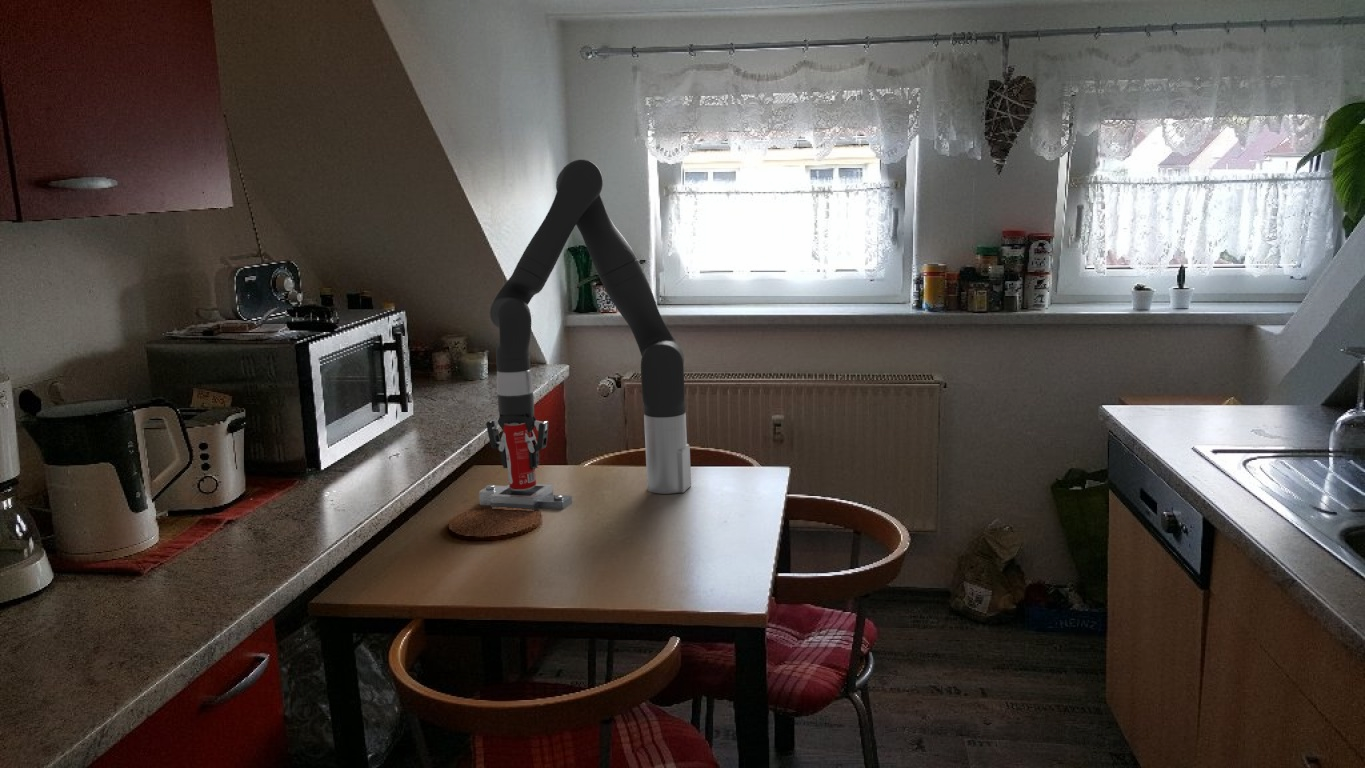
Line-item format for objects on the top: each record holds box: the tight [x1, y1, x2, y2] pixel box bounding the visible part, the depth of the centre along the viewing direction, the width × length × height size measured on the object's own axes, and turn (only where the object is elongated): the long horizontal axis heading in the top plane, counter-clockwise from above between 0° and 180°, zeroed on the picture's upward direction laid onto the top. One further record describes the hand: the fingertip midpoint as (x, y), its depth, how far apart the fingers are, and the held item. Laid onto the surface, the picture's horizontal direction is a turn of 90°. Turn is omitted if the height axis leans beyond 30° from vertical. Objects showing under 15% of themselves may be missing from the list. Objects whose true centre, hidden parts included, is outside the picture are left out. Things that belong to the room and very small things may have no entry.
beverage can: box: [503, 423, 537, 491], centre depth 210 cm, size 6×6×15 cm
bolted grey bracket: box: [478, 483, 573, 511], centre depth 211 cm, size 20×10×4 cm, turn 73°
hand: (520, 467), depth 210 cm, fingers closed on beverage can, 5 cm apart
